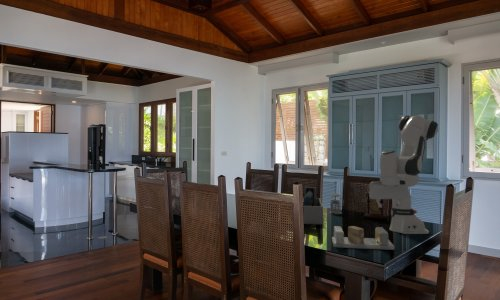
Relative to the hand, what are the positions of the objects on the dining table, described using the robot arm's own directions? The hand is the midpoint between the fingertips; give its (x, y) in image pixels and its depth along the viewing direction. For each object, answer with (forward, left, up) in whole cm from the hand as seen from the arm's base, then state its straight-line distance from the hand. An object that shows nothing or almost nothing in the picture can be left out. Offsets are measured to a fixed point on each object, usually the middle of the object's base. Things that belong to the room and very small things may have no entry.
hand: (389, 207), depth 190 cm
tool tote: (+39, -68, -21) cm, 81 cm away
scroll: (-7, -75, -21) cm, 78 cm away
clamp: (+41, -67, -21) cm, 82 cm away
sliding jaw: (+4, 0, -18) cm, 19 cm away
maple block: (+17, 0, -19) cm, 25 cm away
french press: (+19, -93, -21) cm, 97 cm away
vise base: (+14, 0, -21) cm, 25 cm away
